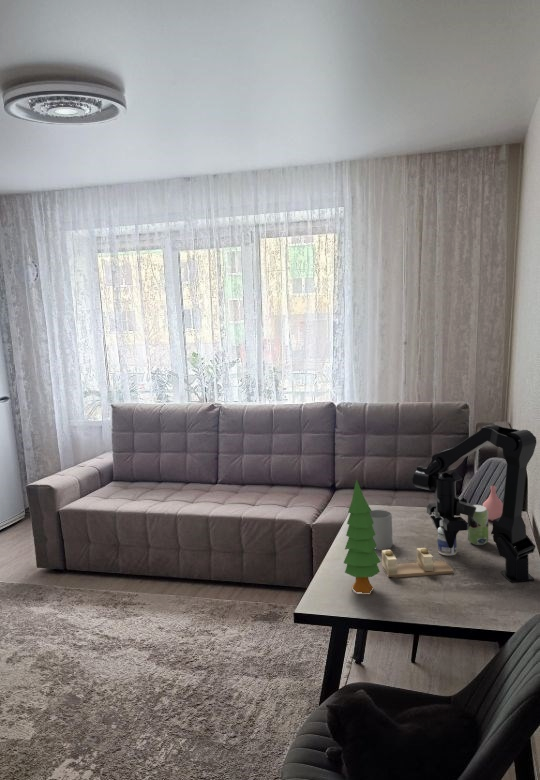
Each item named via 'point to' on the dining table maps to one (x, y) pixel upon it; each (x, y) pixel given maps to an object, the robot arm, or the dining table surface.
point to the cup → (382, 528)
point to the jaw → (425, 559)
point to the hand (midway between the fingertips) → (447, 544)
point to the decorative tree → (361, 543)
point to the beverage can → (478, 526)
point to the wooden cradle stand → (410, 567)
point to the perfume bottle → (493, 505)
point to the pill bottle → (445, 543)
